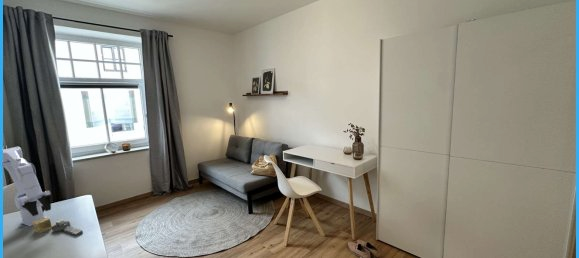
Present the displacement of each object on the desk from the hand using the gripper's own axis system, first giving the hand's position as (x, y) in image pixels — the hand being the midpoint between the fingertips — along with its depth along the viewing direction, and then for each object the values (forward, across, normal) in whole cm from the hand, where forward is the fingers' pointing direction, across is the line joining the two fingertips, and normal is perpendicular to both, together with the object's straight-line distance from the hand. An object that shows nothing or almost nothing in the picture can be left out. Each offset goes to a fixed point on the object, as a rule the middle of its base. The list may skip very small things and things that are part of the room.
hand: (42, 212), depth 129 cm
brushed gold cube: (+8, -6, +2) cm, 10 cm away
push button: (-2, -26, +19) cm, 32 cm away
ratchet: (+13, +8, +2) cm, 16 cm away
